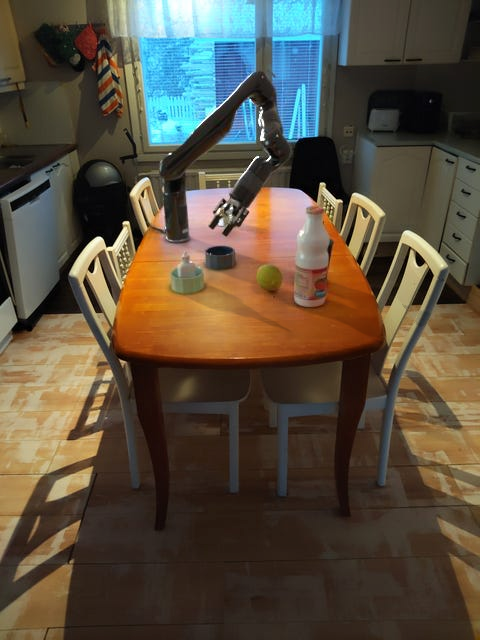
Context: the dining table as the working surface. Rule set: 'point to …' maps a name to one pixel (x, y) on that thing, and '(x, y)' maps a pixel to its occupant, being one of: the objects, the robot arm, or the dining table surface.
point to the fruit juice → (312, 260)
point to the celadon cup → (187, 282)
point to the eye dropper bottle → (186, 267)
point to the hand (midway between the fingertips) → (216, 231)
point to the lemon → (269, 277)
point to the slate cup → (220, 257)
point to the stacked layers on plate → (224, 221)
